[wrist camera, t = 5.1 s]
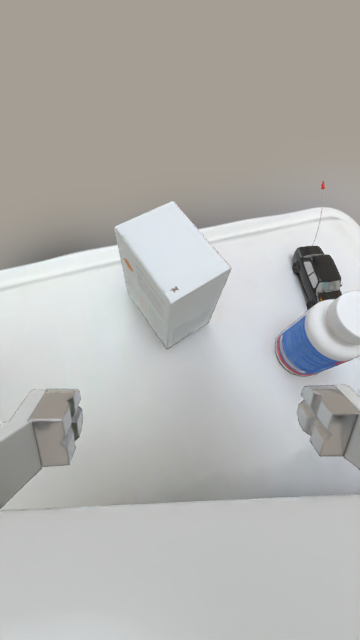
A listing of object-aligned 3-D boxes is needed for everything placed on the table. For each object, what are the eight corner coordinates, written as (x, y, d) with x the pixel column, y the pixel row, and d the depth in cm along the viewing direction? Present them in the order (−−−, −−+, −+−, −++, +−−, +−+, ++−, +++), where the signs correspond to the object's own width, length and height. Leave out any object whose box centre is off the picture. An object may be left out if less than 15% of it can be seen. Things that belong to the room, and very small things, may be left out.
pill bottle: (307, 388, 28) (380, 365, 19) (264, 353, 29) (313, 317, 20) (332, 349, 30) (408, 312, 21) (290, 318, 31) (346, 270, 22)
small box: (209, 323, 30) (235, 269, 20) (166, 350, 28) (171, 306, 19) (168, 269, 32) (174, 197, 22) (126, 292, 30) (112, 224, 21)
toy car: (309, 319, 31) (356, 283, 24) (277, 233, 35) (308, 181, 28) (340, 314, 32) (395, 278, 24) (304, 231, 36) (342, 179, 29)
